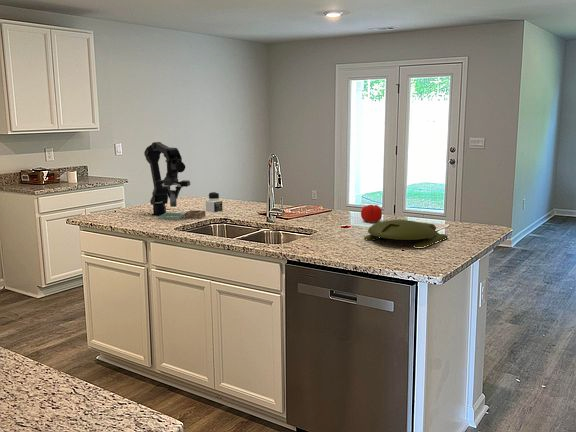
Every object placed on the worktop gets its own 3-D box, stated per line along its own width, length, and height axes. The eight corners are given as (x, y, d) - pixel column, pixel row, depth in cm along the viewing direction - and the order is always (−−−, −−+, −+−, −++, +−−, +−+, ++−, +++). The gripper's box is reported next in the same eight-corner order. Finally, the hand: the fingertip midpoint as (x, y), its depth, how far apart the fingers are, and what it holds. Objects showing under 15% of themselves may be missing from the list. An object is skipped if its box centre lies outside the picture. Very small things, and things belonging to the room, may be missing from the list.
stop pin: (169, 206, 319) (168, 190, 317) (171, 205, 322) (171, 189, 321) (175, 206, 318) (174, 190, 317) (177, 205, 322) (177, 190, 320)
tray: (158, 220, 317) (157, 216, 316) (166, 216, 328) (166, 212, 328) (178, 221, 315) (178, 217, 314) (186, 217, 326) (186, 213, 326)
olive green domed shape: (392, 230, 291) (392, 212, 290) (449, 239, 272) (450, 219, 270) (355, 243, 265) (355, 222, 263) (415, 253, 246) (416, 231, 244)
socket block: (185, 220, 319) (184, 213, 318) (190, 217, 328) (190, 210, 327) (200, 220, 317) (200, 213, 317) (205, 217, 326) (205, 210, 325)
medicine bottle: (214, 213, 338) (213, 193, 336) (205, 212, 342) (205, 192, 340) (222, 212, 344) (222, 192, 341) (214, 210, 348) (213, 191, 346)
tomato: (365, 219, 320) (365, 203, 319) (385, 221, 314) (385, 205, 313) (357, 222, 311) (357, 206, 310) (377, 224, 305) (378, 207, 304)
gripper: (150, 172, 310) (151, 200, 313) (183, 172, 307) (184, 201, 310) (158, 169, 321) (159, 197, 324) (190, 170, 318) (190, 198, 321)
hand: (173, 198), depth 320 cm, fingers closed on stop pin, 4 cm apart
